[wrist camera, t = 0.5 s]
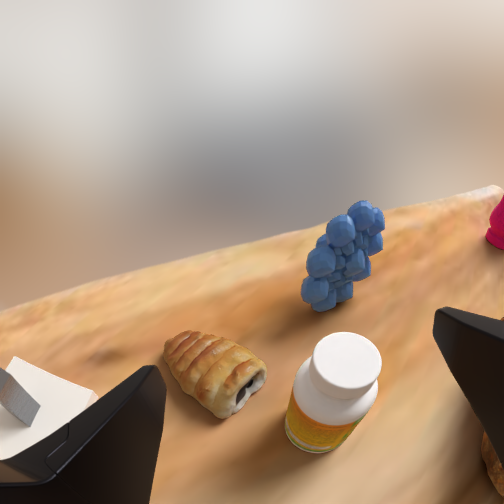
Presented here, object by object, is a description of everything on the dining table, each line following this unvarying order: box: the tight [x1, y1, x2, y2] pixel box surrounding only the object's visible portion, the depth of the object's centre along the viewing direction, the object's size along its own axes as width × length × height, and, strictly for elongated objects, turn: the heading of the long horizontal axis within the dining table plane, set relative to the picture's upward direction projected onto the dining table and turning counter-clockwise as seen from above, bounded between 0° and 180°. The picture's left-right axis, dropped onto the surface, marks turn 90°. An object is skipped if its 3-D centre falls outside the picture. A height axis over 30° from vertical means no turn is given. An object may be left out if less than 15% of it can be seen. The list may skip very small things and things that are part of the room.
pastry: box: [164, 331, 267, 419], centre depth 23 cm, size 9×7×4 cm
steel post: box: [0, 368, 41, 427], centre depth 15 cm, size 3×3×5 cm
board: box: [0, 356, 98, 460], centre depth 13 cm, size 20×12×1 cm, turn 173°
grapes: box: [301, 201, 385, 312], centre depth 29 cm, size 12×7×12 cm, turn 124°
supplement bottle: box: [285, 332, 382, 453], centre depth 17 cm, size 5×5×10 cm
